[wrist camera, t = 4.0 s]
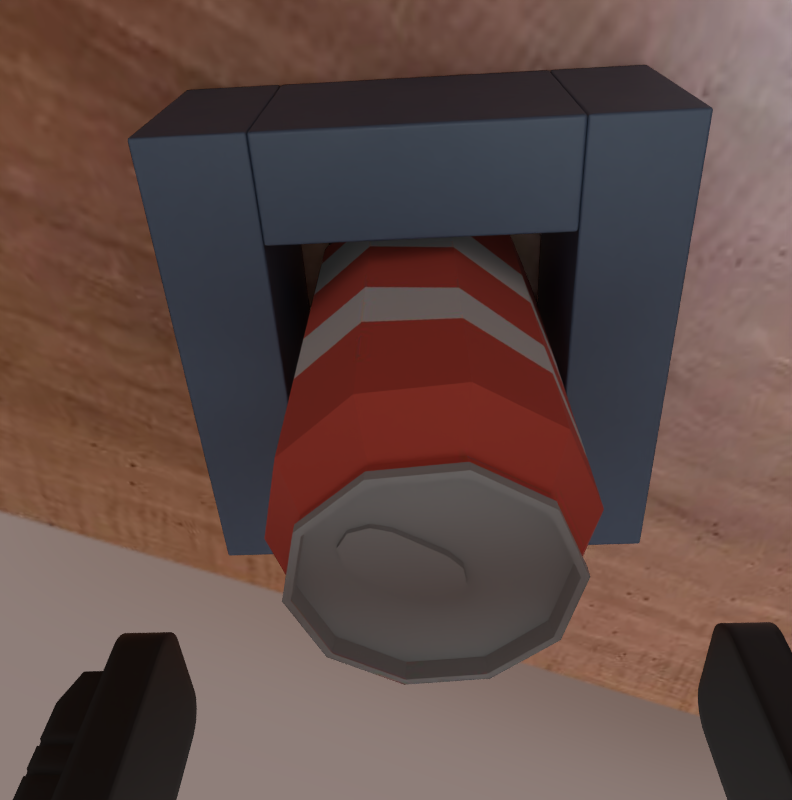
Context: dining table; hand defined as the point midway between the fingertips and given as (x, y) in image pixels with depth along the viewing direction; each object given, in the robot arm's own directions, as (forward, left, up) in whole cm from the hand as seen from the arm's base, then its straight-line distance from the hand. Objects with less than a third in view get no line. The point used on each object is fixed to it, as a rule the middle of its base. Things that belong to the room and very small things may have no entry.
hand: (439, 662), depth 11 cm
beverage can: (0, 0, -14) cm, 14 cm away
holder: (0, 0, -14) cm, 14 cm away
